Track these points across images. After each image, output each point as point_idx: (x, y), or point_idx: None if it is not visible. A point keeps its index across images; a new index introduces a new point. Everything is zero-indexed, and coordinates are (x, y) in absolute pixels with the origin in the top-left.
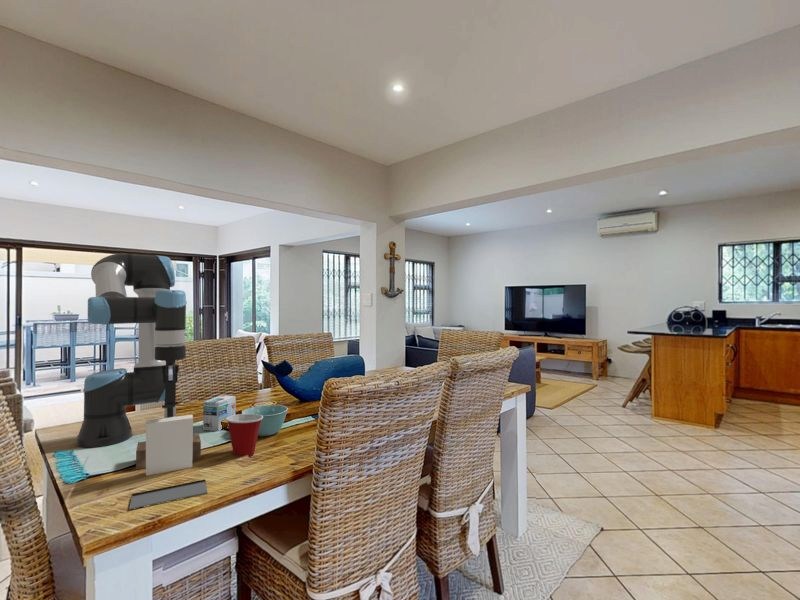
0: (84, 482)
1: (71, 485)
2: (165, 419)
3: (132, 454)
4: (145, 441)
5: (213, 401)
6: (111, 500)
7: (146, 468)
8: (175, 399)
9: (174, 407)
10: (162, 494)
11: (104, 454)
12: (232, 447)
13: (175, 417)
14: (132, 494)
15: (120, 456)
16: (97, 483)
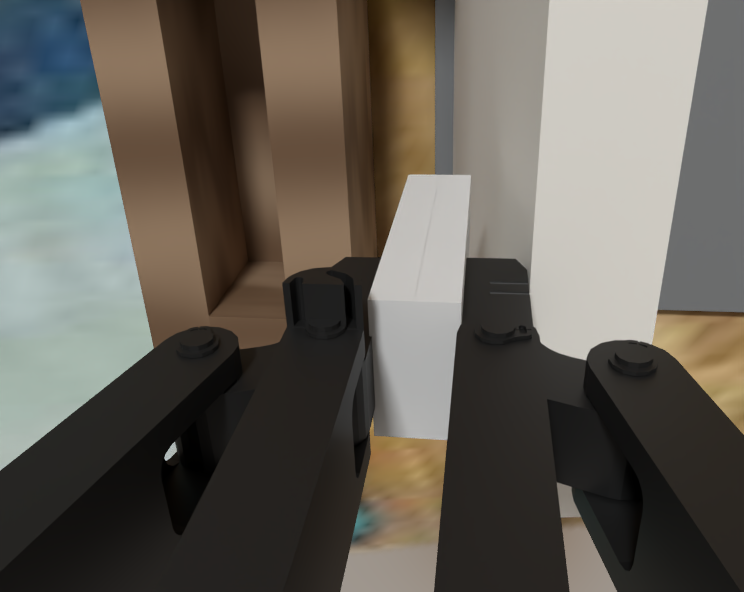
0: (386, 487)
1: (396, 524)
2: (580, 352)
3: (52, 319)
4: (154, 319)
5: None
6: (711, 387)
7: None
8: (733, 427)
9: (461, 312)
10: None
11: (15, 434)
12: None
13: (567, 244)
14: (735, 310)
15: (68, 370)
16: (431, 444)
